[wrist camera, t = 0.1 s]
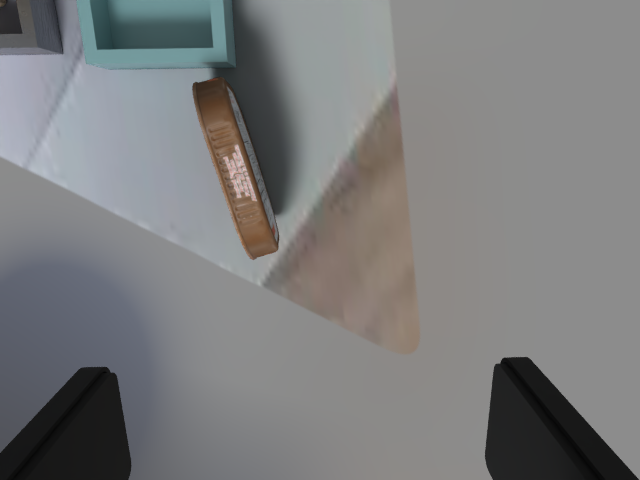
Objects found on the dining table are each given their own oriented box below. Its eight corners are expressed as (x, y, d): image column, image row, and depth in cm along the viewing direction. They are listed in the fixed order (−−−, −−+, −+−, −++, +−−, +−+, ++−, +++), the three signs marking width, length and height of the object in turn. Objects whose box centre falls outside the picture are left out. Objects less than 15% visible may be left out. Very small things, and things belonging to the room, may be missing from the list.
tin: (204, 87, 38) (174, 78, 30) (238, 77, 38) (217, 66, 30) (256, 245, 42) (243, 275, 34) (287, 236, 42) (281, 264, 34)
